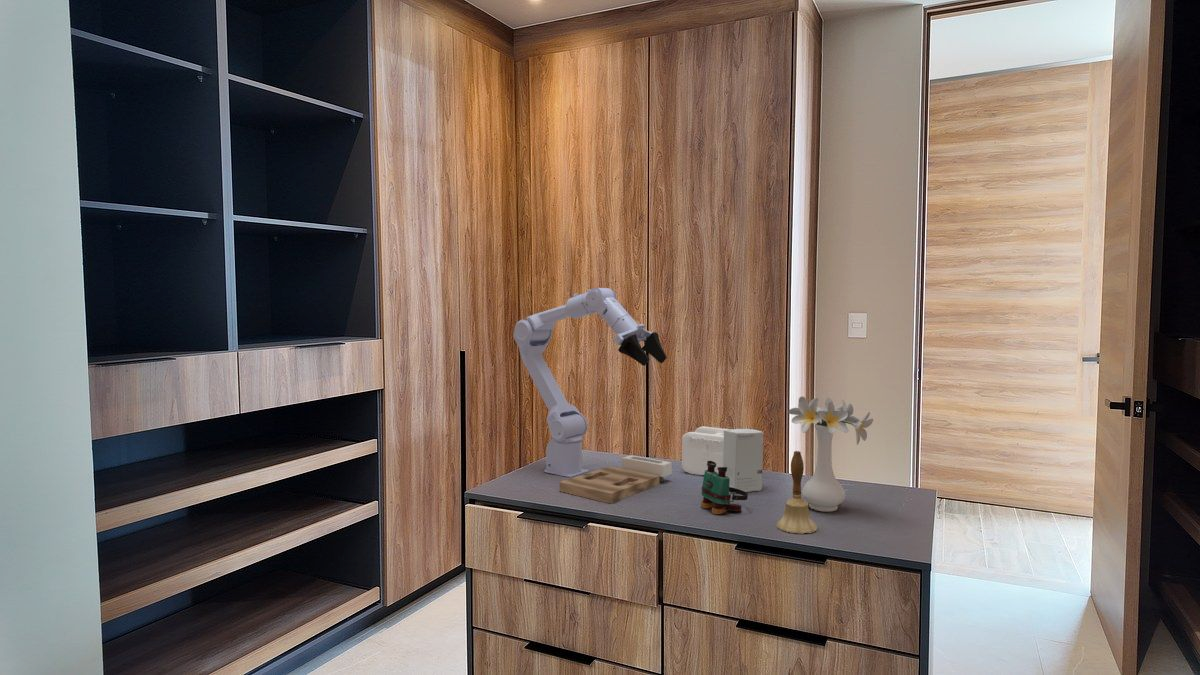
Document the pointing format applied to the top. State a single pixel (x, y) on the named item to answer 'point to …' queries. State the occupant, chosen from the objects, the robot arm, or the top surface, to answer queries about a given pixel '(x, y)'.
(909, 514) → the top surface
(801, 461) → the hand bell
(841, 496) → the flower vase
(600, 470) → the keyhole board
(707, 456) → the white rounded box
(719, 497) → the binoculars
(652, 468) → the white rectangular block
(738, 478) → the skincare box
